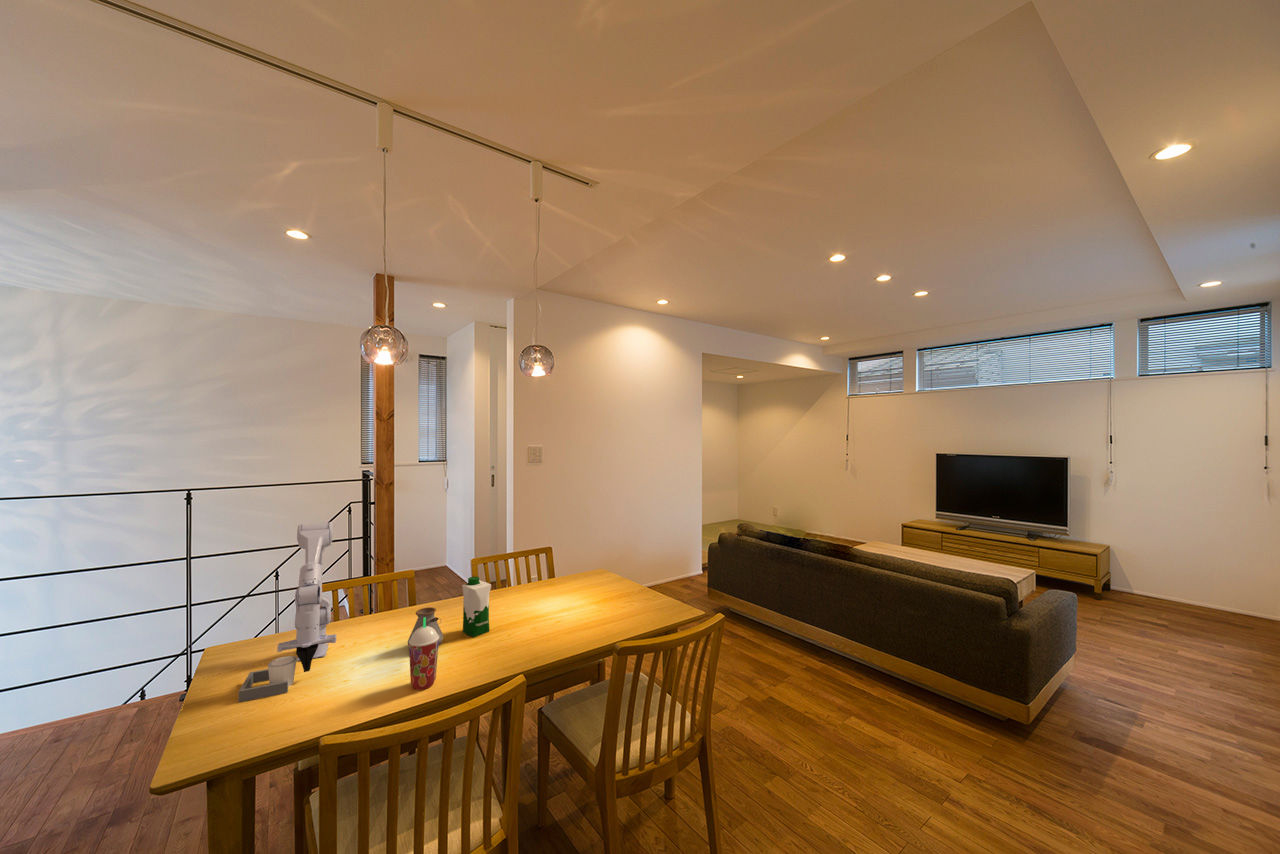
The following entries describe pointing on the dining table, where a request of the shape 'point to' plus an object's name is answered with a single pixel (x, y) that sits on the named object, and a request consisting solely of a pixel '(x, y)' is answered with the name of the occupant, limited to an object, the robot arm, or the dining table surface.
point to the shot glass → (282, 670)
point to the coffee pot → (427, 621)
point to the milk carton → (476, 607)
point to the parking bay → (260, 687)
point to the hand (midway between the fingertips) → (307, 670)
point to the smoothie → (423, 656)
